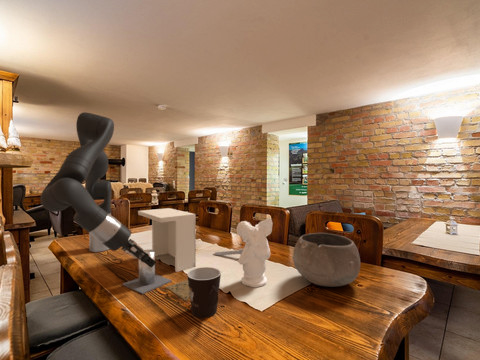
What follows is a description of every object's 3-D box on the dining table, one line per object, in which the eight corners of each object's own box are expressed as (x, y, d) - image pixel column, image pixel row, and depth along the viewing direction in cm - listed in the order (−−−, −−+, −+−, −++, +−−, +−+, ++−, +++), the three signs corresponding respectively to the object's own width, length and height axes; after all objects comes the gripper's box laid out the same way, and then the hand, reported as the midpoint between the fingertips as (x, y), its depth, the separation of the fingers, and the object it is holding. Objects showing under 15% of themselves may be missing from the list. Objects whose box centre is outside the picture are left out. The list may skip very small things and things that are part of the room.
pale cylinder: (135, 282, 80) (135, 252, 80) (149, 277, 84) (148, 248, 84) (145, 286, 77) (144, 255, 77) (158, 281, 81) (157, 251, 81)
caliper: (256, 260, 104) (256, 245, 104) (255, 261, 103) (255, 246, 103) (213, 254, 112) (213, 240, 112) (212, 255, 111) (212, 241, 111)
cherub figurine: (234, 284, 80) (233, 217, 80) (246, 271, 92) (245, 212, 91) (270, 290, 76) (269, 219, 76) (278, 275, 87) (277, 213, 87)
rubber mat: (122, 284, 79) (122, 283, 79) (151, 274, 88) (151, 272, 88) (142, 294, 73) (142, 292, 73) (171, 281, 82) (171, 280, 82)
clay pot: (356, 274, 88) (356, 233, 88) (365, 303, 68) (365, 249, 68) (296, 267, 95) (296, 229, 95) (288, 291, 75) (288, 242, 75)
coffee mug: (189, 303, 68) (189, 267, 68) (220, 302, 69) (220, 266, 68) (183, 329, 56) (183, 286, 56) (221, 327, 57) (221, 284, 57)
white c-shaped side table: (138, 258, 105) (138, 210, 105) (169, 252, 114) (169, 208, 114) (160, 276, 87) (160, 217, 86) (195, 266, 96) (195, 214, 95)
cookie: (196, 277, 86) (196, 275, 86) (217, 289, 78) (217, 286, 78) (164, 288, 78) (164, 285, 78) (184, 302, 69) (184, 299, 69)
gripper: (126, 225, 70) (165, 257, 77) (113, 218, 81) (148, 247, 88) (106, 247, 66) (148, 278, 74) (95, 237, 77) (133, 265, 85)
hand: (148, 261), depth 81 cm, fingers open, 8 cm apart
